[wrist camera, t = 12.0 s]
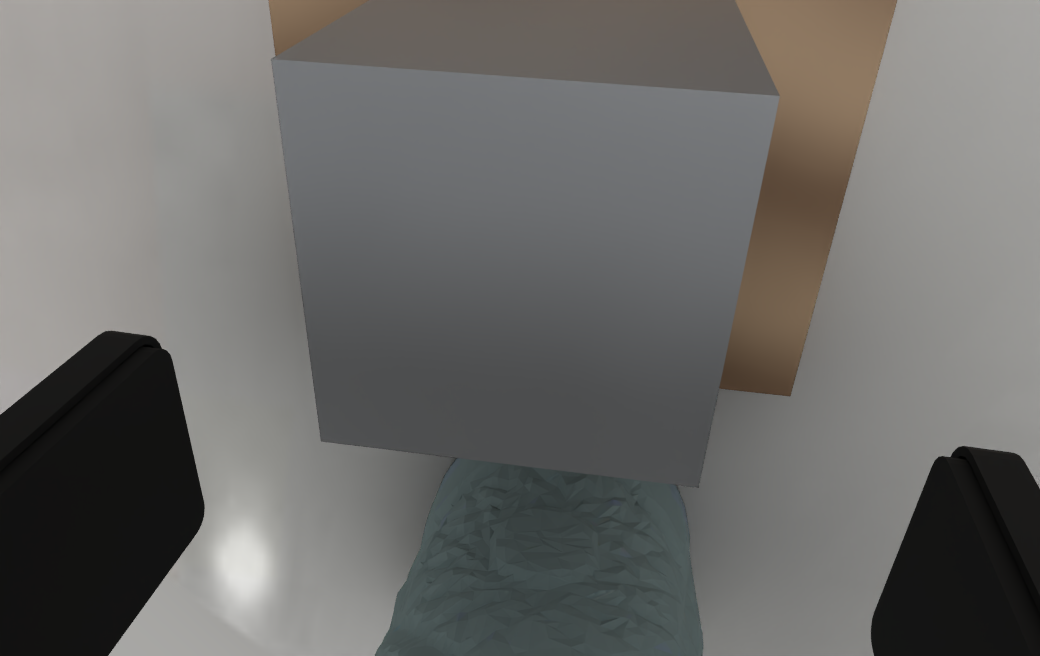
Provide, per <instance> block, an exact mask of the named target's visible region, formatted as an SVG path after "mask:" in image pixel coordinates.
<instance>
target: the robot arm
mask: <svg viewBox="0 0 1040 656" xmlns="http://www.w3.org/2000/svg"><path fill="white" fill-rule="evenodd" d="M204 509H205V507H204V500H203V496H202V491H201V487H200V482H199V478H198V473H197V469H196V464H195V460H194V455H193V451H192V446H191V442H190V437H189V433H188V428H187V424H186V420H185V415H184V411H183V406H182V402H181V397H180V393H179V388H178V384H177V379H176V375H175V370H174V366H173V361H172V358H171V355H170V354H169V353H168V351H166V350H164V349H162V348H161V346H160V343H159V342H158V341H157V340H156V339H155V338H153V337H151V336H146V335H139V334H131V333H124V332H117V331H105V332H103V333H102V334H100V335H98V336H97V337H96V338H94V339H93V340H92V341H91V342H90V343H88V344H87V345H86V346H85V347H83V348H82V349H81V350H80V351H78V352H77V353H76V354H75V355H74V356H72V357H71V358H70V359H69V360H67V361H66V362H65V363H64V364H62V365H61V366H60V367H59V368H57V369H56V370H55V371H54V372H53V373H51V374H50V375H49V376H48V377H46V378H45V379H44V380H43V381H41V382H40V383H39V384H38V385H37V386H35V387H34V388H33V389H32V390H30V391H29V392H28V393H27V394H25V395H24V396H23V397H22V398H21V399H19V400H18V401H17V402H16V403H14V404H13V405H12V406H11V407H9V408H8V409H7V410H6V411H5V412H3V413H2V414H1V415H0V656H108V655H109V654H110V652H111V651H112V649H113V648H114V647H115V645H116V644H117V642H118V641H119V640H120V638H121V637H122V636H123V634H124V633H125V632H126V630H127V629H128V627H129V626H130V625H131V623H132V622H133V620H134V619H135V618H136V616H137V615H138V614H139V612H140V611H141V609H142V608H143V607H144V605H145V604H146V603H147V601H148V600H149V598H150V597H151V596H152V594H153V593H154V592H155V590H156V589H157V587H158V586H159V584H160V583H161V582H162V581H163V579H164V578H165V576H166V575H167V574H168V572H169V571H170V569H171V568H172V567H173V565H174V564H175V563H176V561H177V560H178V558H179V557H180V556H181V554H182V553H183V552H184V550H185V549H186V547H187V546H188V545H189V543H190V542H191V541H192V539H193V538H194V536H195V535H196V534H197V532H198V530H199V529H200V526H201V524H202V521H203V517H204ZM871 642H872V648H873V653H874V656H1040V489H1039V487H1038V485H1037V483H1036V481H1035V480H1034V478H1033V476H1032V474H1031V472H1030V471H1029V469H1028V467H1027V465H1026V464H1025V462H1024V461H1023V459H1022V458H1021V457H1020V456H1019V455H1017V454H1015V453H1010V452H1003V451H996V450H988V449H981V448H973V447H966V446H962V447H958V448H957V449H956V450H955V451H954V452H953V453H952V455H951V457H944V456H941V457H938V458H937V459H936V460H935V462H934V464H933V466H932V468H931V470H930V473H929V475H928V478H927V480H926V483H925V485H924V488H923V491H922V493H921V496H920V498H919V501H918V503H917V506H916V508H915V511H914V513H913V516H912V518H911V521H910V523H909V526H908V528H907V531H906V533H905V536H904V539H903V541H902V544H901V546H900V549H899V551H898V554H897V556H896V559H895V561H894V564H893V566H892V569H891V571H890V574H889V576H888V579H887V581H886V584H885V586H884V589H883V592H882V594H881V597H880V599H879V602H878V604H877V607H876V609H875V612H874V615H873V618H872V625H871Z"/></svg>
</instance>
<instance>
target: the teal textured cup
mask: <svg viewBox="0 0 1040 656" xmlns="http://www.w3.org/2000/svg"><path fill="white" fill-rule="evenodd" d="M689 545H690V534H689V528H688V521H687V516H686V511H685V506H684V504H683V501H682V498H681V496H680V493H679V491H678V488H677V486H676V485H673V484H665V483H657V482H649V481H640V480H632V479H624V478H616V477H608V476H600V475H592V474H583V473H575V472H567V471H559V470H551V469H543V468H535V467H526V466H518V465H510V464H502V463H494V462H486V461H478V460H469V459H461V458H457V459H456V460H455V461H454V463H453V464H452V466H451V467H450V468H449V470H448V471H447V473H446V474H445V476H444V479H443V481H442V483H441V486H440V488H439V490H438V493H437V495H436V497H435V500H434V502H433V505H432V507H431V510H430V513H429V516H428V519H427V522H426V525H425V529H424V534H423V538H422V544H421V549H420V551H419V553H418V555H417V557H416V559H415V561H414V563H413V565H412V567H411V570H410V572H409V574H408V578H407V581H406V582H405V584H404V585H403V586H402V588H401V589H400V591H399V592H398V594H397V598H396V602H395V607H394V613H393V617H392V621H391V626H390V629H389V631H388V632H387V634H386V636H385V637H384V640H383V642H382V644H381V645H380V646H379V648H378V650H377V652H376V654H375V656H702V651H703V633H702V630H701V624H700V617H699V611H698V605H697V599H696V593H695V587H694V581H693V575H692V568H691V560H690V553H689Z"/></svg>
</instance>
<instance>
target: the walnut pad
mask: <svg viewBox="0 0 1040 656" xmlns="http://www.w3.org/2000/svg"><path fill="white" fill-rule="evenodd" d="M367 1H369V0H269V7H270V15H271V23H272V31H273V39H274V47H275V55H276V56H277V55H279V54H281V53H282V52H284V51H286V50H287V49H289V48H291V47H292V46H294V45H296V44H297V43H299V42H301V41H302V40H304V39H306V38H307V37H309V36H311V35H312V34H314V33H316V32H317V31H319V30H321V29H322V28H324V27H326V26H327V25H329V24H331V23H332V22H334V21H336V20H337V19H339V18H341V17H342V16H344V15H346V14H347V13H349V12H351V11H352V10H354V9H356V8H357V7H359V6H361V5H362V4H364V3H366V2H367ZM735 1H736V4H737V6H738V8H739V10H740V12H741V14H742V16H743V18H744V21H745V23H746V25H747V27H748V29H749V31H750V33H751V36H752V38H753V40H754V42H755V44H756V46H757V48H758V50H759V53H760V55H761V57H762V59H763V61H764V63H765V65H766V67H767V70H768V72H769V74H770V76H771V78H772V80H773V82H774V84H775V87H776V89H777V91H778V93H779V95H780V98H779V103H778V108H777V113H776V117H775V122H774V127H773V132H772V137H771V141H770V146H769V151H768V156H767V161H766V165H765V170H764V175H763V180H762V185H761V189H760V194H759V199H758V204H757V209H756V214H755V218H754V223H753V228H752V233H751V238H750V242H749V247H748V252H747V257H746V262H745V266H744V271H743V276H742V281H741V286H740V290H739V295H738V300H737V305H736V310H735V314H734V319H733V324H732V329H731V334H730V338H729V343H728V348H727V353H726V358H725V362H724V367H723V372H722V377H721V382H720V387H719V389H729V390H738V391H747V392H756V393H765V394H774V395H783V396H790V395H791V392H792V388H793V384H794V381H795V377H796V373H797V370H798V366H799V362H800V358H801V355H802V351H803V347H804V344H805V340H806V336H807V333H808V329H809V325H810V321H811V318H812V314H813V310H814V307H815V303H816V299H817V295H818V292H819V288H820V284H821V281H822V277H823V273H824V270H825V266H826V262H827V258H828V255H829V251H830V247H831V244H832V240H833V236H834V233H835V229H836V225H837V221H838V218H839V214H840V210H841V207H842V203H843V199H844V196H845V192H846V188H847V184H848V181H849V177H850V173H851V170H852V166H853V162H854V159H855V155H856V151H857V147H858V144H859V140H860V136H861V133H862V129H863V125H864V121H865V118H866V114H867V110H868V107H869V103H870V99H871V96H872V92H873V88H874V84H875V81H876V77H877V73H878V70H879V66H880V62H881V59H882V55H883V51H884V47H885V44H886V40H887V36H888V33H889V29H890V25H891V22H892V18H893V14H894V10H895V7H896V3H897V0H735Z"/></svg>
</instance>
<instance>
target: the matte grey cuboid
mask: <svg viewBox="0 0 1040 656" xmlns="http://www.w3.org/2000/svg"><path fill="white" fill-rule="evenodd" d="M271 61H272V69H273V77H274V84H275V92H276V100H277V107H278V115H279V123H280V130H281V138H282V146H283V153H284V161H285V169H286V176H287V184H288V192H289V199H290V207H291V215H292V222H293V230H294V238H295V245H296V253H297V261H298V268H299V276H300V284H301V291H302V299H303V307H304V314H305V322H306V330H307V337H308V345H309V353H310V360H311V368H312V376H313V383H314V391H315V399H316V406H317V414H318V422H319V429H320V437H321V441H323V442H331V443H339V444H347V445H355V446H364V447H372V448H380V449H388V450H396V451H404V452H412V453H421V454H429V455H437V456H445V457H453V458H461V459H469V460H478V461H486V462H494V463H502V464H510V465H518V466H526V467H535V468H543V469H551V470H559V471H567V472H575V473H583V474H592V475H600V476H608V477H616V478H624V479H632V480H640V481H649V482H657V483H665V484H673V485H681V486H689V487H699V483H700V478H701V473H702V468H703V463H704V459H705V454H706V449H707V444H708V439H709V435H710V430H711V425H712V420H713V415H714V411H715V406H716V401H717V396H718V391H719V387H720V382H721V377H722V372H723V367H724V362H725V358H726V353H727V348H728V343H729V338H730V334H731V329H732V324H733V319H734V314H735V310H736V305H737V300H738V295H739V290H740V286H741V281H742V276H743V271H744V266H745V262H746V257H747V252H748V247H749V242H750V238H751V233H752V228H753V223H754V218H755V214H756V209H757V204H758V199H759V194H760V189H761V185H762V180H763V175H764V170H765V165H766V161H767V156H768V151H769V146H770V141H771V137H772V132H773V127H774V122H775V117H776V113H777V108H778V103H779V98H780V95H779V93H778V91H777V89H776V87H775V84H774V82H773V80H772V78H771V76H770V74H769V72H768V70H767V67H766V65H765V63H764V61H763V59H762V57H761V55H760V53H759V50H758V48H757V46H756V44H755V42H754V40H753V38H752V36H751V33H750V31H749V29H748V27H747V25H746V23H745V21H744V18H743V16H742V14H741V12H740V10H739V8H738V6H737V4H736V1H735V0H369V1H367V2H366V3H364V4H362V5H361V6H359V7H357V8H356V9H354V10H352V11H351V12H349V13H347V14H346V15H344V16H342V17H341V18H339V19H337V20H336V21H334V22H332V23H331V24H329V25H327V26H326V27H324V28H322V29H321V30H319V31H317V32H316V33H314V34H312V35H311V36H309V37H307V38H306V39H304V40H302V41H301V42H299V43H297V44H296V45H294V46H292V47H291V48H289V49H287V50H286V51H284V52H282V53H281V54H279V55H277V56H276V57H274V58H272V59H271Z"/></svg>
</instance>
